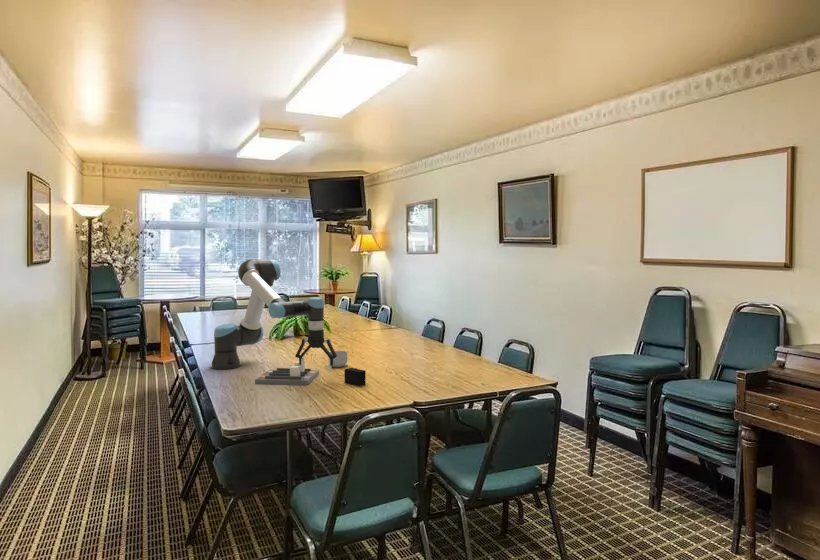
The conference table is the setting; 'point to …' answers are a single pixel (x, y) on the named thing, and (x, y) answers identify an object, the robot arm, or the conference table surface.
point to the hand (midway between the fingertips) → (316, 371)
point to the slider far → (299, 365)
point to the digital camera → (355, 376)
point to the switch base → (287, 377)
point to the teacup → (339, 358)
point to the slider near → (295, 371)
